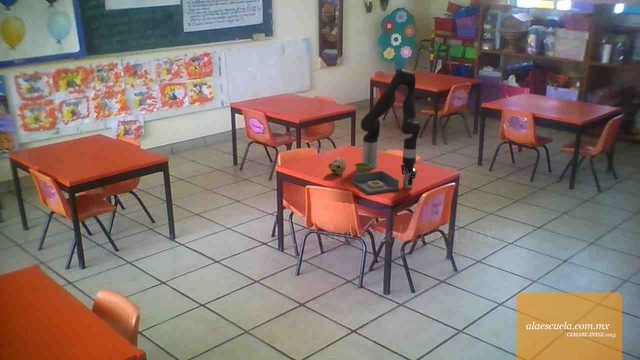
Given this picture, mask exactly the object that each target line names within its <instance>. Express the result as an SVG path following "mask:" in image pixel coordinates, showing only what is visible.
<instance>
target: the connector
mask: <svg viewBox="0 0 640 360" xmlns="http://www.w3.org/2000/svg"><path fill="white" fill-rule="evenodd" d="M409 174H411V173H409ZM410 176H411V175H410ZM402 177H403V178H402V179H403V180H402V187H403V188H405V189H404V190H409V189H413V182H414V179H412V185H408V174H407V172H405V173H404V175H403V176H402Z"/></svg>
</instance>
